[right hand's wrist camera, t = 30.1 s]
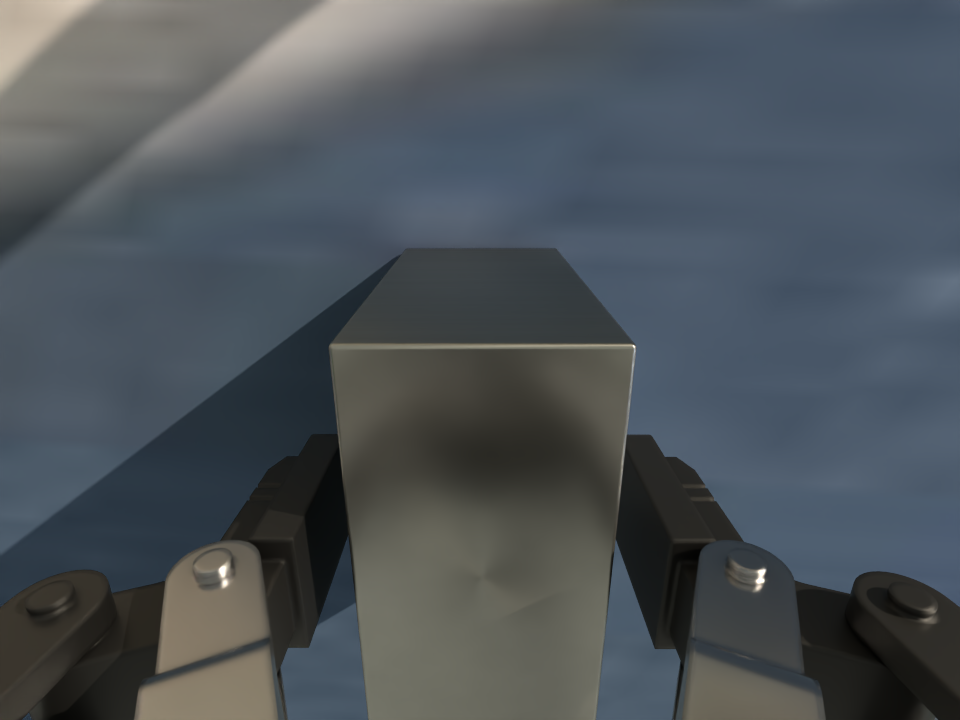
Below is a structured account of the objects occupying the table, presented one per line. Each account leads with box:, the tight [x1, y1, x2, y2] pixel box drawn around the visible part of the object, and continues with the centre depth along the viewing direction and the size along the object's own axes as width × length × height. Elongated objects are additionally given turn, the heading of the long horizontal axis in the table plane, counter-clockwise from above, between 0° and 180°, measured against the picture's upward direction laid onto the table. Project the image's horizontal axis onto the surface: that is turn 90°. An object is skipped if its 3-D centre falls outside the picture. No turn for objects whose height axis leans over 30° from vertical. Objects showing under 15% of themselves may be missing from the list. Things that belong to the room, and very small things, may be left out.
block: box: [329, 249, 636, 720], centre depth 13 cm, size 4×8×8 cm, turn 0°
